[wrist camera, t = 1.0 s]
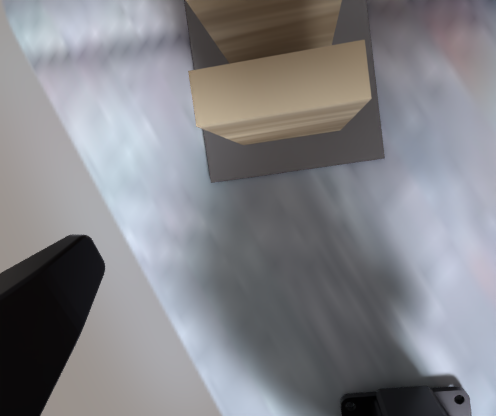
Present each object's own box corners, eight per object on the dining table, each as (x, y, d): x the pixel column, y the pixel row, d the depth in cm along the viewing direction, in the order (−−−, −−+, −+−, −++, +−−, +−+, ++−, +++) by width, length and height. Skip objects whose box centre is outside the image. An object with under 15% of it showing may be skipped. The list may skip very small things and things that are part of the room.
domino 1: (330, 50, 21) (353, -52, 12) (232, 67, 22) (175, -14, 12) (326, 17, 21) (346, -114, 11) (228, 36, 22) (167, -73, 12)
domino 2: (340, 130, 22) (371, 98, 12) (243, 145, 22) (196, 126, 12) (336, 98, 22) (364, 39, 12) (239, 114, 22) (188, 71, 12)
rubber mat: (383, 158, 22) (384, 158, 22) (212, 182, 23) (211, 182, 23) (342, -192, 21) (342, -199, 20) (164, -147, 22) (161, -153, 22)
